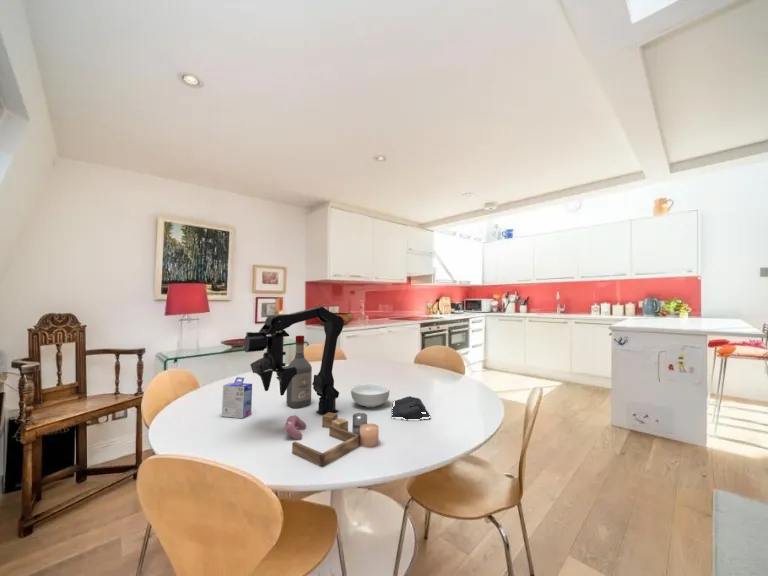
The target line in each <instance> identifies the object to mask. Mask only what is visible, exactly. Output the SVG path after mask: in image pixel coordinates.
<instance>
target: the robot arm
mask: <svg viewBox="0 0 768 576" xmlns="http://www.w3.org/2000/svg"><path fill="white" fill-rule="evenodd" d="M316 318H317V319H318V320H319V321H320V322H321V323H323V329H324V334H325V340H324V347H323V351H322V357H321V364H320V369H319V372H318V373H317V374H314V375H313V380H312V381H313V382H312V384H311V386H312V389H313V390H314V391H315V393H316V396H318V397H319V398H318V399H319V400H318V409H317V410H316V413H317V414H320V415H322V416H323V415H325V414H326V413H328V412H330V413H337V412H339V409H337V407H336V405H337V404H336V402H337V401H336V399H338V398H339V395H340V392H339V391H338V390H337V389H336V388H335V379H334V376H333V368H334V363H335V362H334V361H335V355H336V349H337V342H338V339H339V336H340V335H341V333H342V332H343V329H344V326H345V319H344V318H343V317H342V316H340V315H337V314H335V313H334V312H332V311H330V310H328V309H327V308H326V307H324V306H315V307H312V308H307V309H303V310H300V311H296V312H291V313H285V314H283V313H281V314H270V315H268V316H267V317H266V319H265V322H264V324H263V325H262V327H261V328H260V330H259V331H255V332H254V331H253V332H252V331H247V332H246V335H245V337H244V340H243V350H244V352H245V353H252V352H262V351H264V350H265V349H266V351H265V352H264V353H263V357H261V358H259V359H257V360H255V361H253V362H252V363H250V368H251V371H252V373H253V374H256V375H258V376H259V377H260V379H261V382H262V385H263V389H264V392H268V391H269V390H270V389H269V388H270V385H271V381H272V377H273V375H274V374H273V373H274V372H275V373H276V377H275V378H276V380H278V382H279V393H280V396H282V397H283V396H284V395H285V393H286V392H287V387H288V385H289V383H290V381H291V380H292V378H293V377H295V375H297V368H296V367H293V366H288V365H286V362H284V356H286V352H287V351H284V340H285V339H284V337H287V338H288V337H290V334H289V333H288V332H287V331H286V329H288V328H289V327H291V326H292V325H294V324H298V323H302V322H305V321H308V320H309V321H310V320H312V319H316Z"/></svg>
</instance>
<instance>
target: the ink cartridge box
mask: <svg viewBox="0 0 768 576" xmlns="http://www.w3.org/2000/svg"><path fill="white" fill-rule="evenodd" d="M244 380H245V377H241V376H240V377H239V376H236V378H235V380H234V382H230V383H226V384H224V385H223V386H222V402H221V404H222V405H221V417H223V418H224V417H225V418H235V419H236V418H237V419H244V418H246V417H248V416H251V415H252V407H253V406H252V400H253V399H252V397H253V383H251V382H250V383H249V382H248V383H247V382H244Z"/></svg>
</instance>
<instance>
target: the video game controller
mask: <svg viewBox="0 0 768 576" xmlns="http://www.w3.org/2000/svg"><path fill="white" fill-rule="evenodd" d="M298 428H299V429H301V430H305V429H306V428H307V424H306V422H305V421H303V420H302V419H301V418H299V417H298V416H297V415H296V414H294V415H290V416H289V417H288V418H287V419H286V422H285V424H284V430H285V432H286V433H287V434H288V435H290V436H291V438H293V439H296V440H302V438H303V434H302V432H301V431H300V430H298Z"/></svg>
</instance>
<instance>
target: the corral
mask: <svg viewBox="0 0 768 576" xmlns="http://www.w3.org/2000/svg"><path fill="white" fill-rule="evenodd" d="M328 429H329V431H328V432H329V433H328V435H329V437H332V438H334V439H338V440H340V441H343V442H341V443H339V444H337V445H336V446H333V447H332V448H330V449H328V450H326V451H324V452H321V451H318V450H316V449H313V448H311V447H310V446H306V445H304V444H302V443H299V442H298V441H293V442H291V446H292V447H291V453H292V454H293V455H296V456H298V457H300V458H302V459H304V460H306V461H308V462H311V463H313V464H314V465H317V466H319V467H321V468H322V467H324V466H326V465H328V464H330V463H332V462H334V461H335V460H337V459H338V458H340V457H342V456H343V455H344V456H345V455H346V454H348V453H350V452H351V451H352V450H355V449H357V448H358V447H360V446H361V445H360V443H361V435H358V434H355V433H352V431H349V430H348V431H346V430H343V429H340V428H337V427H334V426H330V427H329V428H328Z"/></svg>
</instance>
